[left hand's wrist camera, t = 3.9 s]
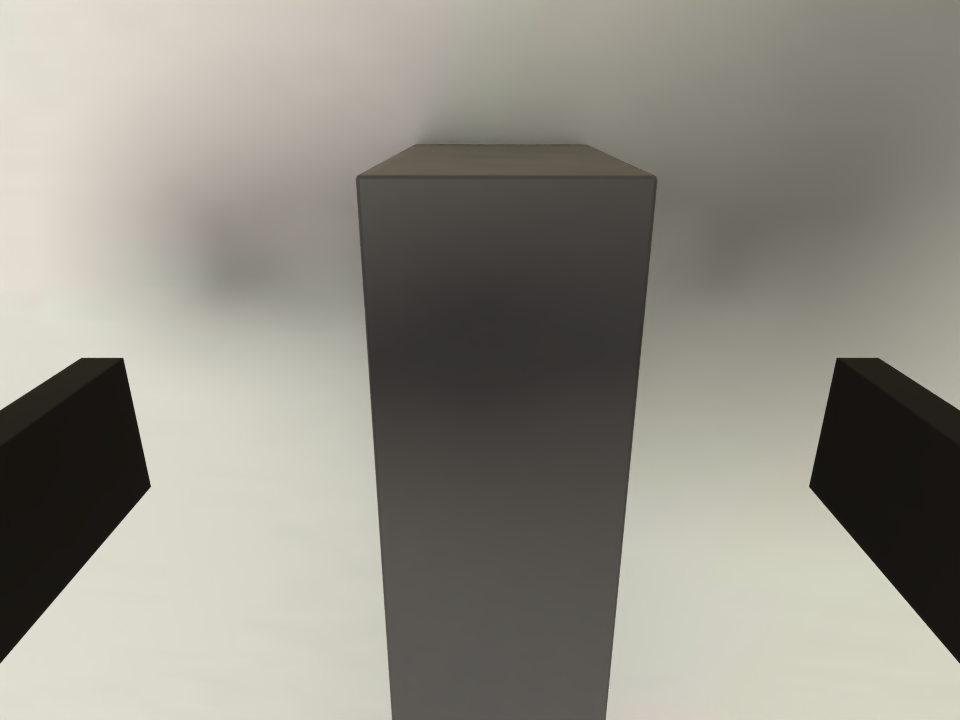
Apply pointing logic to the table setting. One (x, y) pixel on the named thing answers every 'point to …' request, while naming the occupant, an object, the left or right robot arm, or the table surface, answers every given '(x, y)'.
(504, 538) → the beam
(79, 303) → the table surface
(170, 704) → the table surface
